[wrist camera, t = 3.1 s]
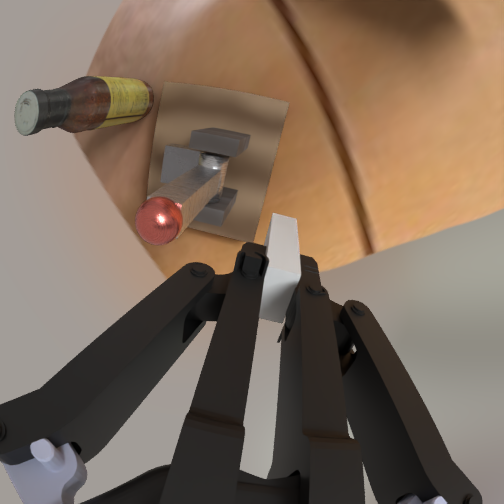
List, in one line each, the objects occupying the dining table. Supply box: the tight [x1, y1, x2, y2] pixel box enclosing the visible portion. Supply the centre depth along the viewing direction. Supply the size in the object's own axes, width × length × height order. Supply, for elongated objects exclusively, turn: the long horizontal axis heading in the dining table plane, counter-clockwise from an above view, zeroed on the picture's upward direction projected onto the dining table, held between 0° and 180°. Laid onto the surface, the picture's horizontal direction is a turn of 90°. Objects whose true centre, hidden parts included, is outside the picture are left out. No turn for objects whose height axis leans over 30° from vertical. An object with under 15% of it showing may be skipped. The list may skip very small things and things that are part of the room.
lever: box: [135, 143, 229, 245], centre depth 22 cm, size 4×7×16 cm, turn 77°
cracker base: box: [146, 81, 289, 243], centre depth 30 cm, size 18×15×12 cm
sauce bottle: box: [14, 76, 154, 136], centre depth 23 cm, size 6×6×20 cm
